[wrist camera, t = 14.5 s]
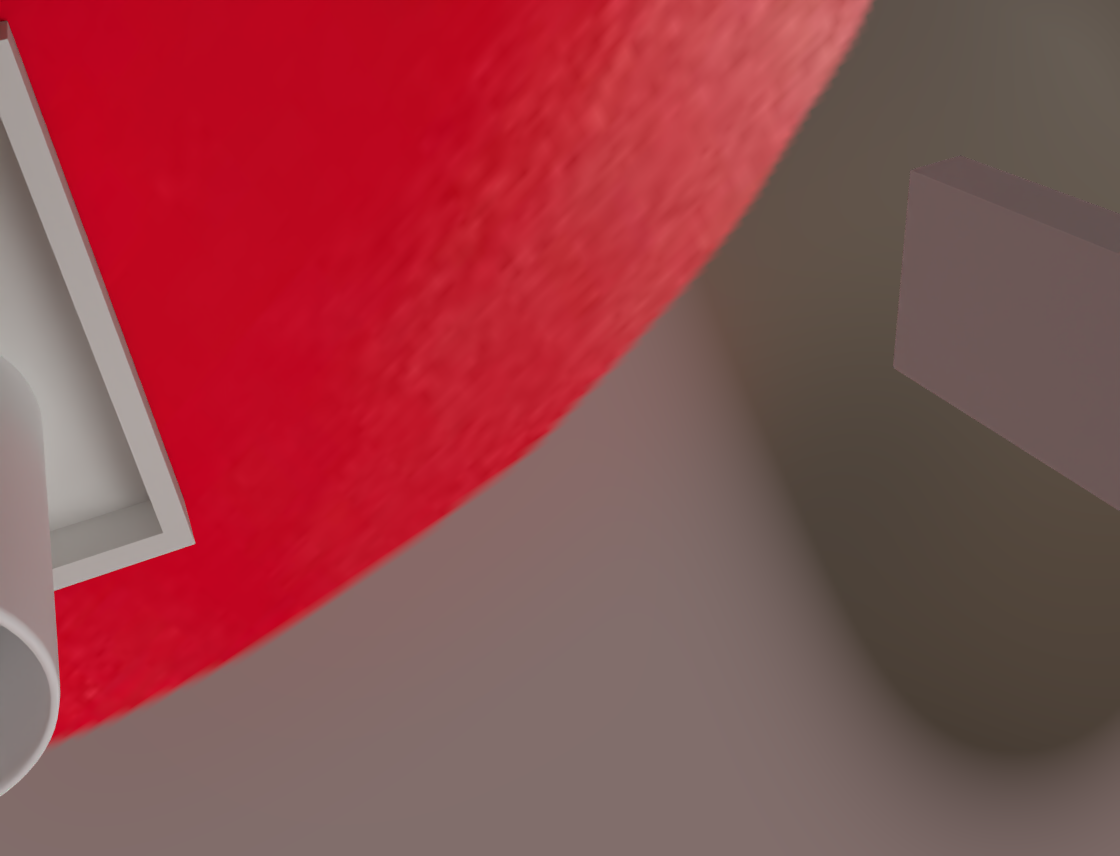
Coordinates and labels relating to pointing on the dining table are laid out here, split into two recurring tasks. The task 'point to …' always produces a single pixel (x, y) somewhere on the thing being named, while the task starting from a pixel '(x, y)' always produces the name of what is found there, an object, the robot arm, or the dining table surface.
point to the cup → (24, 585)
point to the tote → (75, 361)
